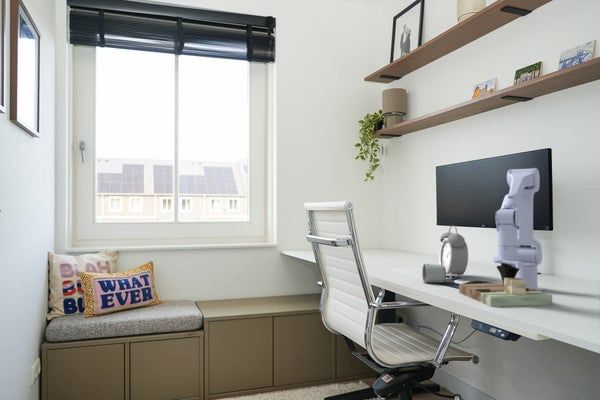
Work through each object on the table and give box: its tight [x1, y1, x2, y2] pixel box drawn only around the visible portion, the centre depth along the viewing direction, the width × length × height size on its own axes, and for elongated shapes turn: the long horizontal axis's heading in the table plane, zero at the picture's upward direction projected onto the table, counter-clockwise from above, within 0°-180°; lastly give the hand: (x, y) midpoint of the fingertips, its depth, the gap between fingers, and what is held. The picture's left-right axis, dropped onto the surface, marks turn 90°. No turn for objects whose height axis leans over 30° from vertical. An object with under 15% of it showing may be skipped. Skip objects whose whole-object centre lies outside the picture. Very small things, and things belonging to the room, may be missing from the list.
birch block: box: [504, 278, 526, 295], centre depth 146 cm, size 4×4×4 cm
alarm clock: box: [438, 225, 469, 280], centre depth 199 cm, size 16×9×22 cm, turn 0°
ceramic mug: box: [421, 262, 447, 284], centre depth 186 cm, size 11×8×8 cm
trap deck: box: [458, 282, 553, 307], centre depth 154 cm, size 22×20×3 cm
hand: (508, 287), depth 150 cm, fingers closed
